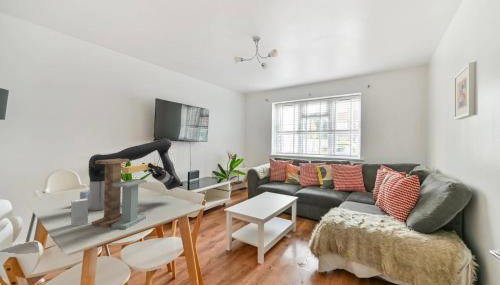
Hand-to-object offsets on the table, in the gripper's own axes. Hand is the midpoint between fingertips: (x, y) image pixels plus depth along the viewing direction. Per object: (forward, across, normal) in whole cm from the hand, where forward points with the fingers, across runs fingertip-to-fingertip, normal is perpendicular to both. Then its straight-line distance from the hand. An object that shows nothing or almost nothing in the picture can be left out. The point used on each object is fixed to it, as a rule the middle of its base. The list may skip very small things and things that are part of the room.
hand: (145, 164), depth 116 cm
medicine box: (-23, -49, +20) cm, 57 cm away
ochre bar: (+2, 0, +5) cm, 5 cm away
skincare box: (+1, -23, +34) cm, 41 cm away
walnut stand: (-4, -11, +31) cm, 33 cm away
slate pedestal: (-4, 0, +31) cm, 31 cm away
